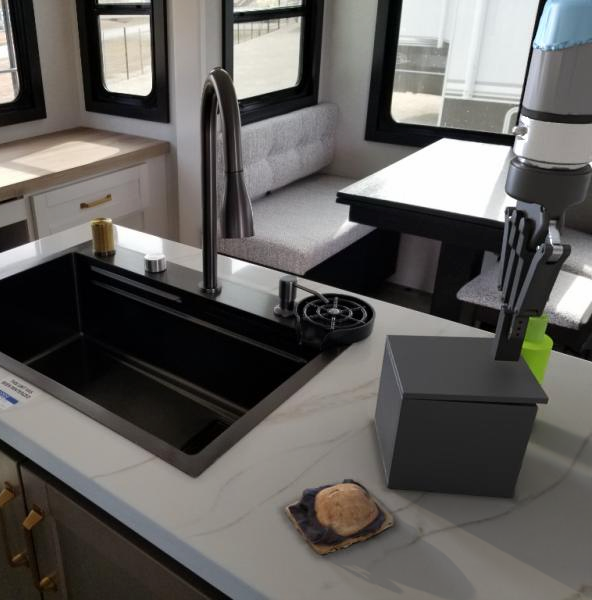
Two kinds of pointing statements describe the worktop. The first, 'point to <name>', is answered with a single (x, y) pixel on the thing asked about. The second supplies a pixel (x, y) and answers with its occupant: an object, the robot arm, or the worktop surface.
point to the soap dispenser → (537, 346)
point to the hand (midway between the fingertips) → (504, 357)
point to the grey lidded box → (450, 441)
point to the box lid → (460, 371)
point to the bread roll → (338, 515)
